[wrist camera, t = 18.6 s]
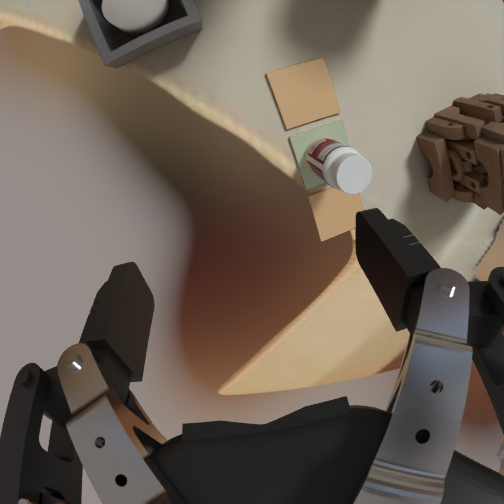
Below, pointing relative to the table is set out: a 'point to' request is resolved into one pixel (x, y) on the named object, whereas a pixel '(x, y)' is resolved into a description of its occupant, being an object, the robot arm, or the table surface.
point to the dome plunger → (135, 14)
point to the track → (306, 110)
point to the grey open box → (141, 45)
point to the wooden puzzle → (467, 151)
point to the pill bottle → (339, 165)
